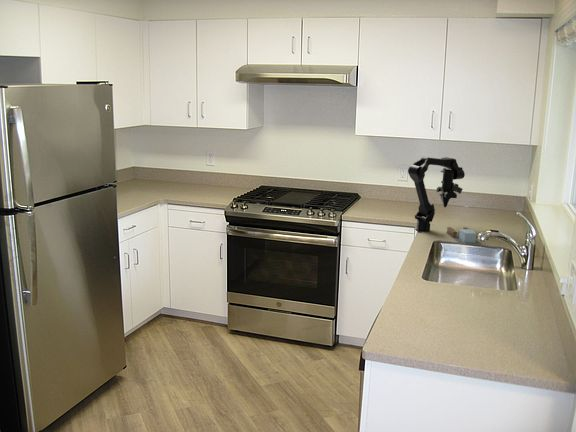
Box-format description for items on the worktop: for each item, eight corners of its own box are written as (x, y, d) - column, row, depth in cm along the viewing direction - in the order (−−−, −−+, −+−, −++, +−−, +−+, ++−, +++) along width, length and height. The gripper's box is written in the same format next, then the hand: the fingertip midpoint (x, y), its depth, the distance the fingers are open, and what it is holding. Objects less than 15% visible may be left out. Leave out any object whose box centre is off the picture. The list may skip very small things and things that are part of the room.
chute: (451, 238, 321) (452, 232, 320) (445, 233, 331) (446, 227, 330) (473, 238, 322) (474, 232, 321) (467, 233, 332) (467, 227, 331)
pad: (459, 244, 310) (459, 243, 310) (451, 238, 321) (451, 237, 321) (482, 244, 310) (482, 244, 310) (473, 238, 322) (473, 237, 322)
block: (464, 242, 312) (465, 233, 311) (458, 238, 320) (459, 229, 319) (475, 242, 313) (476, 233, 311) (469, 238, 320) (470, 229, 319)
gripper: (467, 183, 327) (464, 211, 331) (456, 177, 345) (453, 203, 349) (447, 183, 326) (444, 210, 330) (437, 177, 345) (434, 203, 348)
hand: (445, 207), depth 339 cm, fingers closed
